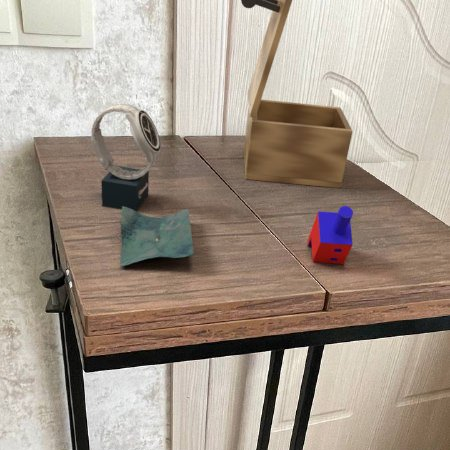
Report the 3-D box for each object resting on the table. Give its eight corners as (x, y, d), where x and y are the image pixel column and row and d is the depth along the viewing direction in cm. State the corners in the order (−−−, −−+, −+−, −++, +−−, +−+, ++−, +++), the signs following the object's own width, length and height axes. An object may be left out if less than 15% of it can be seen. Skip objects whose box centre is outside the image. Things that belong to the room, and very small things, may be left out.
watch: (152, 213, 76) (154, 118, 69) (88, 203, 77) (83, 108, 70) (163, 197, 80) (166, 105, 73) (102, 187, 81) (99, 96, 74)
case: (330, 160, 98) (340, 107, 93) (340, 188, 89) (352, 131, 84) (243, 152, 97) (249, 98, 92) (245, 179, 88) (251, 121, 83)
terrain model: (193, 270, 66) (194, 253, 64) (118, 270, 65) (117, 253, 64) (188, 219, 75) (188, 204, 74) (122, 219, 75) (121, 203, 73)
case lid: (286, -17, 83) (245, -32, 82) (294, -5, 74) (247, -22, 73) (252, 95, 92) (214, 83, 91) (255, 118, 83) (213, 104, 82)
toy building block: (309, 270, 72) (326, 225, 64) (307, 240, 73) (324, 193, 66) (339, 272, 72) (360, 228, 65) (337, 242, 74) (357, 195, 66)
